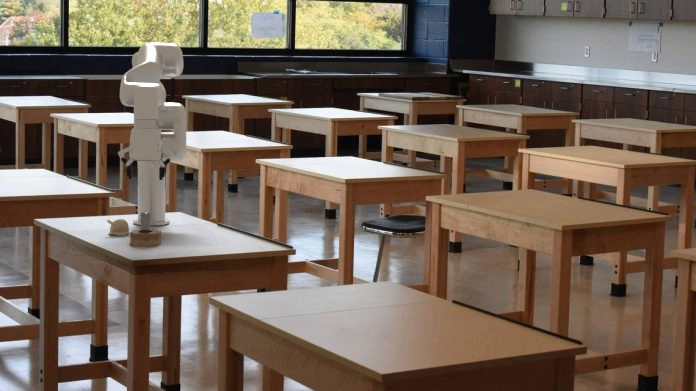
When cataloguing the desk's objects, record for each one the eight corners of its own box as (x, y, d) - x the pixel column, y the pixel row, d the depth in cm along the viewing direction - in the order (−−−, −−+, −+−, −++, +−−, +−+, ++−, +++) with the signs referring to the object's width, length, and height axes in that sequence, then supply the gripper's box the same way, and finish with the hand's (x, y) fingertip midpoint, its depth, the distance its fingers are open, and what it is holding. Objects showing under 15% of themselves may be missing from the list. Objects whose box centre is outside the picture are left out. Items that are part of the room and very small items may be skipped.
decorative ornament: (132, 235, 386) (132, 219, 385) (108, 236, 381) (108, 220, 381) (127, 233, 389) (127, 217, 388) (103, 234, 385) (103, 218, 384)
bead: (133, 241, 373) (133, 228, 373) (162, 241, 373) (162, 229, 373) (128, 246, 364) (128, 233, 364) (157, 246, 364) (157, 234, 364)
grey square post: (141, 243, 370) (141, 211, 369) (150, 243, 370) (150, 212, 369) (139, 244, 367) (139, 213, 366) (149, 244, 367) (149, 213, 366)
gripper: (175, 124, 368) (175, 178, 370) (120, 122, 368) (120, 176, 370) (172, 126, 360) (171, 181, 363) (115, 124, 360) (115, 179, 363)
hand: (145, 179), depth 367 cm, fingers open, 9 cm apart
